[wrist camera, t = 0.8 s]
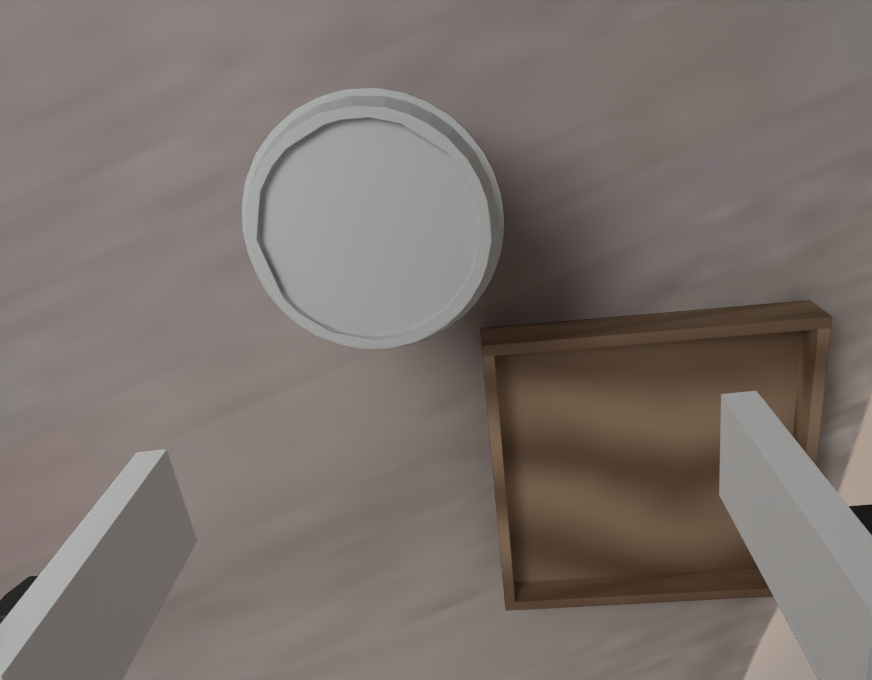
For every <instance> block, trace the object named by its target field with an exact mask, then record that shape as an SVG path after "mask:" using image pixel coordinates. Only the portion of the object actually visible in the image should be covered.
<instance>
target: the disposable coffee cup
mask: <svg viewBox="0 0 872 680" xmlns="http://www.w3.org/2000/svg"><path fill="white" fill-rule="evenodd" d="M242 226H243V235H244V239H245V243H246V247H247V251H248V254H249V257H250V259H251V262H252V264H253V267H254V269H255V272H256V274H257V276H258V277H259V279H260V281H261V283H262V284H263V286H264V288H265V289H266V291H267V293H268V294H269V296H270V297H271V298H272V299H273V300H274V302H275V303H276V304H277V305H278V306H279V308H280V309H281V310H282V311H283V312H284V313H286V314H287V315H288V316H289V317H290V318H291V319H292V320H293V321H294V322H296V323H298V324H299V325H301V326H302V327H304V328H305V329H307V330H308V331H310V332H311V333H313V334H314V335H316V336H318V337H321V338H324V339H327V340H329V341H332V342H335V343H338V344H341V345H343V346H350V347H356V348H363V349H382V348H394V347H400V346H406V345H410V344H413V343H416V342H420V341H423V340H426V339H428V338H430V337H432V336H434V335H436V334H438V333H440V332H442V331H444V330H446V329H448V328H449V327H450V326H451V325H453V324H454V323H455V322H456V321H458V320H459V319H460V318H462V317H463V316H464V315H465V314H466V313H467V312H468V311H469V310H470V309H471V308H472V307H473V306H474V305H475V303H476V302H477V301H478V300H479V298H480V297H481V295H482V294H483V292H484V291H485V289H486V288H487V286H488V285H489V283H490V281H491V279H492V276H493V274H494V272H495V269H496V267H497V264H498V260H499V257H500V253H501V249H502V243H503V234H504V213H503V205H502V197H501V194H500V190H499V187H498V184H497V181H496V178H495V175H494V172H493V170H492V168H491V166H490V164H489V162H488V160H487V158H486V156H485V154H484V152H483V151H482V150H481V149H480V147H479V146H478V145H477V143H476V142H475V141H474V140H473V138H472V137H471V136H470V134H469V133H468V132H467V131H466V130H465V129H464V128H463V127H462V126H461V125H460V124H458V123H457V122H456V121H455V120H454V119H453V118H452V117H450V116H449V115H448V114H446V113H445V112H443V111H442V110H440V109H439V108H438V107H436V106H434V105H432V104H431V103H429V102H426V101H424V100H422V99H419V98H417V97H414V96H412V95H409V94H406V93H402V92H397V91H392V90H387V89H382V88H365V89H344V90H341V91H338V92H334V93H331V94H328V95H324V96H321V97H318V98H316V99H314V100H312V101H310V102H308V103H306V104H305V105H303V106H301V107H299V108H297V109H295V110H294V111H293V112H292V113H290V114H289V115H288V116H287V117H286V118H285V119H284V120H283V121H282V122H280V123H279V124H278V125H277V126H276V127H275V128H274V129H273V130H272V131H271V132H270V134H269V135H268V137H267V138H266V140H265V141H264V142H263V144H262V145H261V147H260V148H259V150H258V151H257V152H256V154H255V157H254V159H253V162H252V165H251V167H250V170H249V173H248V175H247V178H246V181H245V186H244V193H243V200H242Z"/></svg>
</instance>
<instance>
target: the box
mask: <svg viewBox="0 0 872 680" xmlns="http://www.w3.org/2000/svg"><path fill="white" fill-rule="evenodd" d="M831 323H832V316H830V315H829V314H827V313H826V312H825V311H823V310H822V309H821V308H819V307H818V306H816V305H815V304H814V303H812V302H811V301H810V300H808V301H796V302H784V303H773V304H761V305H749V306H738V307H726V308H714V309H703V310H691V311H679V312H668V313H656V314H644V315H632V316H621V317H609V318H597V319H586V320H574V321H562V322H551V323H539V324H527V325H516V326H504V327H492V328H481V345H482V356H483V367H484V378H485V389H486V400H487V411H488V422H489V433H490V444H491V455H492V466H493V477H494V488H495V499H496V510H497V521H498V532H499V543H500V553H501V564H502V575H503V586H504V597H505V608H506V611H507V610H526V609H544V608H563V607H582V606H600V605H619V604H638V603H656V602H675V601H693V600H712V599H731V598H749V597H768V596H773V594H772V593H771V591H770V589H769V587H768V585H767V583H766V581H765V580H764V578H763V576H762V574H761V572H760V570H759V568H758V566H757V565H756V563H755V561H754V559H753V557H752V555H751V553H750V552H749V550H748V548H747V546H746V544H745V542H744V540H743V539H742V537H741V535H740V533H739V531H738V529H737V527H736V526H735V524H734V522H733V520H732V518H731V516H730V514H729V512H728V511H727V509H726V507H725V505H724V503H723V501H722V499H721V498H720V496H719V479H720V428H721V394H727V393H737V392H747V391H757V392H758V393H759V395H760V396H761V397H762V398H763V400H764V401H765V402H766V404H767V405H768V406H769V407H770V409H771V410H772V411H773V412H774V414H775V415H776V416H777V417H778V419H779V420H780V421H781V422H782V424H783V425H784V426H785V427H786V429H787V430H788V431H789V432H790V434H791V435H792V436H793V437H794V439H795V440H796V441H797V442H798V444H799V445H800V446H801V447H802V449H803V450H804V451H805V452H806V454H807V455H808V456H809V457H810V459H811V460H812V461H813V462H814V464H815V465H816V466H817V456H818V447H819V437H820V428H821V418H822V409H823V399H824V389H825V380H826V370H827V361H828V351H829V342H830V332H831Z"/></svg>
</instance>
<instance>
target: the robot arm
mask: <svg viewBox="0 0 872 680" xmlns="http://www.w3.org/2000/svg"><path fill="white" fill-rule="evenodd" d="M719 496H720V498H721V499H722V501H723V503H724V505H725V507H726V509H727V511H728V512H729V514H730V516H731V518H732V520H733V522H734V524H735V526H736V527H737V529H738V531H739V533H740V535H741V537H742V539H743V540H744V542H745V544H746V546H747V548H748V550H749V552H750V553H751V555H752V557H753V559H754V561H755V563H756V565H757V566H758V568H759V570H760V572H761V574H762V576H763V578H764V580H765V581H766V583H767V585H768V587H769V589H770V591H771V593H772V594H773V596H774V598H775V600H776V602H777V604H778V606H779V607H780V609H781V611H782V613H783V615H784V617H785V619H786V620H787V622H788V624H789V626H790V628H791V630H792V632H793V633H794V635H795V637H796V639H797V641H798V643H799V645H800V646H801V648H802V650H803V652H804V654H805V656H806V658H807V659H808V661H809V663H810V665H811V667H812V669H813V671H814V673H815V674H816V676H817V678H818V680H872V505H860V506H848V505H847V504H846V503H845V502H844V500H843V499H842V498H841V497H840V495H839V494H838V493H837V491H836V490H835V489H834V488H833V486H832V485H831V484H830V483H829V481H828V480H827V479H826V478H825V476H824V475H823V474H822V473H821V471H820V470H819V469H818V468H817V466H816V465H815V464H814V462H813V461H812V460H811V459H810V457H809V456H808V455H807V454H806V452H805V451H804V450H803V449H802V447H801V446H800V445H799V444H798V442H797V441H796V440H795V439H794V437H793V436H792V435H791V434H790V432H789V431H788V430H787V429H786V427H785V426H784V425H783V424H782V422H781V421H780V420H779V419H778V417H777V416H776V415H775V414H774V412H773V411H772V410H771V409H770V407H769V406H768V405H767V404H766V402H765V401H764V400H763V398H762V397H761V396H760V395H759V393H758V392H757V391H747V392H737V393H727V394H721V428H720V479H719ZM196 541H197V539H196V536H195V533H194V530H193V527H192V524H191V521H190V518H189V515H188V512H187V509H186V506H185V503H184V500H183V497H182V494H181V491H180V488H179V485H178V482H177V479H176V476H175V473H174V470H173V467H172V464H171V461H170V458H169V455H168V452H167V449H166V450H156V451H146V452H137V453H136V454H135V455H134V456H133V458H132V459H131V460H130V461H129V463H128V464H127V465H126V466H125V468H124V469H123V470H122V472H121V473H120V474H119V475H118V477H117V478H116V479H115V480H114V482H113V483H112V484H111V485H110V487H109V488H108V489H107V490H106V492H105V493H104V494H103V495H102V497H101V498H100V499H99V500H98V502H97V503H96V504H95V505H94V507H93V508H92V509H91V511H90V512H89V513H88V514H87V516H86V517H85V518H84V519H83V521H82V522H81V523H80V524H79V526H78V527H77V528H76V529H75V531H74V532H73V533H72V534H71V536H70V537H69V538H68V539H67V541H66V542H65V543H64V544H63V546H62V547H61V548H60V550H59V551H58V552H57V553H56V555H55V556H54V557H53V558H52V560H51V561H50V562H49V563H48V565H47V566H46V567H45V568H44V570H43V571H42V572H41V573H40V575H39V576H30V577H28V578H27V579H25V580H24V581H23V582H21V583H20V584H19V585H18V586H16V587H15V588H14V589H12V590H11V591H10V592H9V593H7V594H6V595H5V596H4V597H3V598H2V599H1V601H0V680H122V679H123V677H124V675H125V673H126V671H127V670H128V668H129V666H130V664H131V662H132V660H133V658H134V657H135V655H136V653H137V651H138V649H139V647H140V645H141V644H142V642H143V640H144V638H145V636H146V634H147V632H148V631H149V629H150V627H151V625H152V623H153V621H154V619H155V618H156V616H157V614H158V612H159V610H160V608H161V606H162V605H163V603H164V601H165V599H166V597H167V595H168V593H169V592H170V590H171V588H172V586H173V584H174V582H175V580H176V579H177V577H178V575H179V573H180V571H181V569H182V567H183V566H184V564H185V562H186V560H187V558H188V556H189V554H190V553H191V551H192V549H193V547H194V545H195V543H196Z"/></svg>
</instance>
